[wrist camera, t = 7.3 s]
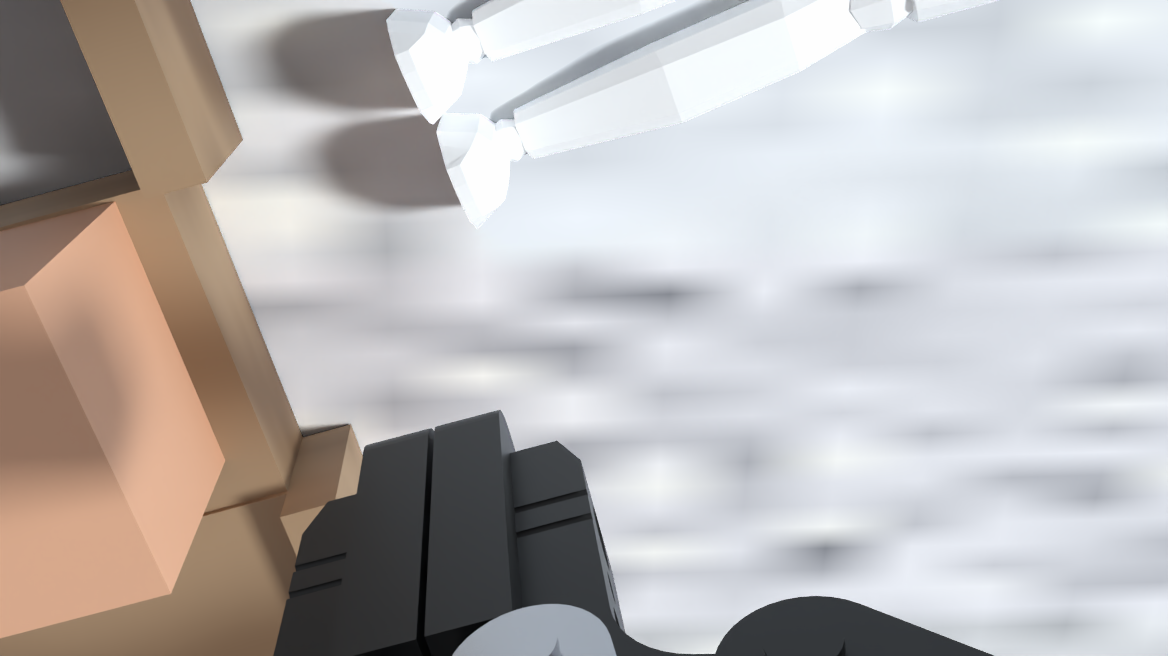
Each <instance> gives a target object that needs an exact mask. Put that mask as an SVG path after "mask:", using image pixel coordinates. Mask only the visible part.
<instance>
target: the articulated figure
mask: <svg viewBox="0 0 1168 656" xmlns="http://www.w3.org/2000/svg"><path fill="white" fill-rule="evenodd" d="M674 1H677V0H489V1H488V2H486V3H484V4H482V5H481V6H479V7H477V8H475V9H474V10H472V18H473V19H458V18H457V19H456V21H455V22H454V23H453V24H452V23H451V21H449V20H448V19H446V18H444V17H443V16H441V15H440V14H438V13H437V12H435V11H425V10H412V9H398V8H396V9H395V11H394V12H393V13H392V14H391V15H390V16H389V17H388V19H387V20H386V22H387V27H388V32H389V36H390V40H391V44H392V48H393V51H394V55H395V58H396V60H397V63H398V65H399V67H400V70H401V72H402V75H403V77H404V79H405V81H406V84H407V86H408V88H409V90H410V92H411V95H412V97H413V99H414V101H415V103H416V105H417V107H418V109H419V111H420V112H421V113H422V115H423V116H424V117H425V118H426V119H427V121H428V122H429V123H430V124H434V123H435V122H436V121H437V120H438V119H439V118H440V117H441V119H440V122H439V125H438V128H437V131H436V133H437V137H438V141H439V145H440V149H441V152H442V156H443V160H444V163H445V167H446V170H447V173H448V175H449V178H450V180H451V182H452V185H453V187H454V190H455V192H456V194H457V196H458V198H459V201H460V203H461V205H462V207H463V209H464V211H465V213H466V215H467V217H468V219H469V221H470V222H471V223H472V224H473V225H474V226H475V227H476V228H477V229H478V228H480V226H481V225H482V224H483V223H484V222H485V221H486V220H487V219H488V218H489V217H490V216H491V215H492V213H493V212H494V211H495V210H496V209H497V208H498V207H499V206H500V205H501V204H502V202H503V201H504V200H505V198H506V193H507V189H508V184H509V172H510V161H519V160H520V159H521V158H522V157H523V156H524V155H525V154H526V153H528V154H529V155H530V156H531V157H532V158H533V159H535V158H539V157H543V156H547V155H552V154H556V153H560V152H564V151H568V150H572V149H577V148H581V147H585V146H589V145H593V144H597V143H602V142H606V141H610V140H614V139H618V138H622V137H627V136H631V135H635V134H639V133H643V132H647V131H652V130H656V129H660V128H664V127H668V126H672V125H676V124H681V123H684V122H686V121H688V120H691V119H693V118H695V117H698V116H700V115H702V114H704V113H707V112H709V111H711V110H714V109H716V108H718V107H720V106H723V105H725V104H727V103H730V102H732V101H734V100H736V99H739V98H741V97H743V96H746V95H748V94H750V93H752V92H755V91H757V90H759V89H762V88H764V87H766V86H768V85H771V84H773V83H775V82H778V81H780V80H782V79H784V78H787V77H789V76H791V75H794V74H796V73H798V72H800V71H802V70H804V69H805V68H807V67H809V66H810V65H812V64H814V63H815V62H817V61H819V60H820V59H822V58H824V57H825V56H827V55H829V54H830V53H832V52H834V51H835V50H837V49H839V48H840V47H842V46H844V45H845V44H847V43H849V42H850V41H852V40H854V39H855V38H857V37H859V36H860V35H862V34H863V33H865V32H870V31H880V30H890V29H891V28H892V27H894V26H895V25H896V24H898V23H899V22H900V21H902V20H903V19H905V18H906V17H908V18H909V19H911V20H913V21H916V22H922V21H926V20H929V19H933V18H937V17H940V16H944V15H948V14H951V13H955V12H959V11H963V10H966V9H970V8H974V7H977V6H981V5H985V4H988V3H992V2H996V1H999V0H749V1H747V2H744V3H742V4H740V5H737V6H735V7H733V8H731V9H728V10H726V11H724V12H721V13H719V14H717V15H714V16H712V17H710V18H707V19H705V20H703V21H701V22H698V23H696V24H694V25H691V26H689V27H687V28H684V29H682V30H680V31H678V32H675V33H673V34H671V35H668V36H666V37H664V38H661V39H659V40H657V41H655V42H652V43H650V44H648V45H646V46H644V47H642V48H640V49H638V50H636V51H634V52H632V53H629V54H627V55H625V56H623V57H621V58H619V59H617V60H615V61H613V62H611V63H609V64H607V65H605V66H603V67H600V68H598V69H596V70H594V71H592V72H590V73H588V74H586V75H584V76H582V77H580V78H578V79H576V80H574V81H572V82H569V83H567V84H565V85H563V86H561V87H559V88H557V89H555V90H553V91H551V92H549V93H547V94H545V95H543V96H541V97H539V98H536V99H534V100H532V101H530V102H528V103H526V104H524V105H522V106H520V107H518V108H516V109H514V119H500V120H499V121H498V122H497V123H496V124H495V123H494V122H492V121H491V120H489V119H488V118H486V117H485V116H483V115H482V114H469V113H445V112H446V110H447V109H448V108H449V107H450V106H451V105H452V104H453V103H454V102H455V101H456V100H457V99H458V98H459V97H460V96H461V94H462V90H463V86H464V82H465V78H466V73H467V68H468V64H477V63H478V62H479V61H480V60H481V59H482V58H483V57H484V56H485V55H487V56H488V58H489V59H490V60H491V61H492V62H493V61H496V60H499V59H502V58H505V57H508V56H512V55H515V54H518V53H521V52H524V51H527V50H530V49H534V48H537V47H540V46H543V45H546V44H549V43H552V42H556V41H559V40H562V39H565V38H568V37H571V36H575V35H578V34H581V33H584V32H587V31H590V30H593V29H597V28H600V27H603V26H606V25H609V24H612V23H615V22H619V21H622V20H625V19H628V18H631V17H634V16H638V15H641V14H643V13H646V12H649V11H651V10H654V9H656V8H659V7H661V6H664V5H667V4H669V3H672V2H674Z"/></svg>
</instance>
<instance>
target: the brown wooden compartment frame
mask: <svg viewBox="0 0 1168 656" xmlns="http://www.w3.org/2000/svg"><path fill="white" fill-rule="evenodd" d="M60 1H61V4H62V6H63V8H64V11H65V13H66V15H67V18H68V20H69V23H70V25H71V27H72V30H73V32H74V34H75V37H76V39H77V41H78V44H79V46H80V48H81V51H82V53H83V55H84V58H85V60H86V62H87V65H88V67H89V70H90V72H91V74H92V77H93V79H94V81H95V84H96V86H97V88H98V91H99V93H100V95H101V98H102V100H103V102H104V105H105V107H106V110H107V112H108V114H109V117H110V119H111V121H112V124H113V126H114V128H115V131H116V133H117V135H118V138H119V140H120V142H121V145H122V147H123V149H124V152H125V154H126V157H127V159H128V161H129V164H130V166H131V168H132V170H130V171H126V172H122V173H119V174H115V175H111V176H108V177H104V178H100V179H96V180H93V181H89V182H85V183H82V184H78V185H74V186H71V187H67V188H63V189H59V190H56V191H52V192H48V193H45V194H41V195H37V196H34V197H30V198H26V199H22V200H19V201H15V202H11V203H8V204H4V205H0V231H2V230H6V229H10V228H14V227H18V226H22V225H25V224H29V223H33V222H37V221H41V220H45V219H49V218H52V217H56V216H60V215H64V214H68V213H72V212H75V211H79V210H83V209H87V208H91V207H95V206H99V205H102V204H106V203H110V202H114V201H115V203H116V205H117V207H118V210H119V212H120V214H121V217H122V219H123V221H124V224H125V226H126V228H127V231H128V233H129V235H130V238H131V240H132V242H133V245H134V247H135V250H136V252H137V254H138V257H139V259H140V261H141V264H142V266H143V268H144V271H145V273H146V275H147V278H148V280H149V282H150V285H151V287H152V289H153V292H154V294H155V296H156V299H157V301H158V304H159V306H160V308H161V311H162V313H163V315H164V318H165V320H166V322H167V325H168V327H169V329H170V332H171V334H172V336H173V339H174V341H175V343H176V346H177V348H178V350H179V353H180V355H181V357H182V360H183V362H184V365H185V367H186V369H187V372H188V374H189V376H190V379H191V381H192V383H193V386H194V388H195V390H196V393H197V395H198V397H199V400H200V402H201V404H202V407H203V409H204V411H205V414H206V416H207V419H208V421H209V423H210V426H211V428H212V430H213V433H214V435H215V437H216V440H217V442H218V444H219V447H220V449H221V451H222V454H223V456H224V458H225V463H224V465H223V468H222V470H221V472H220V475H219V477H218V480H217V482H216V485H215V487H214V490H213V492H212V494H211V497H210V499H209V502H208V504H207V507H206V509H205V512H204V514H203V517H202V519H201V521H200V524H199V526H198V529H197V531H196V534H195V536H194V539H193V541H192V543H191V546H190V548H189V551H188V553H187V556H186V558H185V561H184V563H183V566H182V568H181V570H180V573H179V575H178V578H177V580H176V583H175V585H174V588H173V590H172V592H171V594H168V595H164V596H160V597H157V598H153V599H149V600H145V601H141V602H138V603H134V604H130V605H126V606H122V607H118V608H115V609H111V610H107V611H103V612H99V613H95V614H92V615H88V616H84V617H80V618H76V619H73V620H69V621H65V622H61V623H57V624H53V625H50V626H46V627H42V628H38V629H34V630H30V631H27V632H23V633H19V634H15V635H11V636H7V637H4V638H0V656H273V655H274V651H275V646H276V642H277V638H278V634H279V630H280V625H281V621H282V617H283V613H284V609H285V604H286V600H287V599H290V597H289V593H288V592H289V588H290V583H291V579H292V575H293V572H296V569H295V563H296V558H297V554H298V550H299V546H300V542H301V537H302V534H303V533H304V531H305V530H306V529H307V527H308V526H309V525H310V524H311V522H312V521H313V520H314V518H315V517H316V516H317V515H318V513H319V512H320V511H321V510H322V508H323V507H324V506H325V504H326V503H327V502H328V501H332V500H336V499H339V498H343V497H347V496H351V495H355V494H356V493H357V487H358V482H359V476H360V470H361V464H362V458H363V455H362V453H361V450H360V447H359V445H358V442H357V440H356V437H355V434H354V432H353V429H352V426H351V424H350V425H347V426H343V427H339V428H335V429H332V430H328V431H324V432H321V433H317V434H313V435H310V436H306V437H303V436H302V434H301V431H300V429H299V426H298V424H297V421H296V419H295V417H294V414H293V412H292V409H291V407H290V404H289V402H288V399H287V397H286V394H285V392H284V389H283V387H282V384H281V382H280V379H279V377H278V374H277V372H276V369H275V367H274V364H273V362H272V359H271V357H270V354H269V352H268V349H267V347H266V344H265V342H264V339H263V337H262V334H261V332H260V329H259V327H258V324H257V322H256V319H255V317H254V314H253V312H252V309H251V307H250V304H249V302H248V299H247V297H246V294H245V292H244V289H243V287H242V284H241V282H240V279H239V277H238V274H237V272H236V270H235V267H234V265H233V262H232V260H231V257H230V255H229V252H228V250H227V247H226V245H225V242H224V240H223V237H222V235H221V232H220V230H219V227H218V225H217V222H216V220H215V217H214V215H213V212H212V210H211V207H210V205H209V202H208V200H207V197H206V195H205V192H204V190H203V187H202V185H201V184H203V183H207V182H208V181H209V180H210V178H211V177H212V176H213V175H214V174H215V172H216V171H217V170H218V169H219V168H220V166H221V165H222V164H223V163H224V162H225V161H226V159H227V158H228V157H229V156H230V155H231V153H232V152H233V151H234V150H235V149H236V148H237V146H238V145H239V144H240V143H241V142H242V140H243V139H242V136H241V134H240V131H239V128H238V126H237V123H236V120H235V118H234V115H233V112H232V110H231V107H230V105H229V102H228V99H227V97H226V94H225V91H224V89H223V86H222V83H221V81H220V78H219V76H218V73H217V70H216V68H215V65H214V62H213V60H212V57H211V54H210V52H209V49H208V47H207V44H206V41H205V39H204V36H203V33H202V31H201V28H200V25H199V23H198V20H197V18H196V15H195V12H194V10H193V7H192V4H191V2H190V0H60Z"/></svg>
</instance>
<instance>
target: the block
mask: <svg viewBox="0 0 1168 656" xmlns="http://www.w3.org/2000/svg"><path fill="white" fill-rule="evenodd" d="M224 463H225V458H224V456H223V454H222V451H221V449H220V447H219V444H218V442H217V440H216V437H215V435H214V433H213V430H212V428H211V426H210V423H209V421H208V419H207V416H206V414H205V411H204V409H203V407H202V404H201V402H200V400H199V397H198V395H197V393H196V390H195V388H194V386H193V383H192V381H191V379H190V376H189V374H188V372H187V369H186V367H185V365H184V362H183V360H182V357H181V355H180V353H179V350H178V348H177V346H176V343H175V341H174V339H173V336H172V334H171V332H170V329H169V327H168V325H167V322H166V320H165V318H164V315H163V313H162V311H161V308H160V306H159V304H158V301H157V299H156V296H155V294H154V292H153V289H152V287H151V285H150V282H149V280H148V278H147V275H146V273H145V271H144V268H143V266H142V264H141V261H140V259H139V257H138V254H137V252H136V250H135V247H134V245H133V242H132V240H131V238H130V235H129V233H128V231H127V228H126V226H125V224H124V221H123V219H122V217H121V214H120V212H119V210H118V207H117V205H116V203H115V201H114V202H110V203H106V204H102V205H99V206H95V207H91V208H87V209H83V210H79V211H75V212H72V213H68V214H64V215H60V216H56V217H52V218H49V219H45V220H41V221H37V222H33V223H29V224H25V225H22V226H18V227H14V228H10V229H6V230H2V231H0V638H4V637H7V636H11V635H15V634H19V633H23V632H27V631H30V630H34V629H38V628H42V627H46V626H50V625H53V624H57V623H61V622H65V621H69V620H73V619H76V618H80V617H84V616H88V615H92V614H95V613H99V612H103V611H107V610H111V609H115V608H118V607H122V606H126V605H130V604H134V603H138V602H141V601H145V600H149V599H153V598H157V597H160V596H164V595H168V594H171V592H172V590H173V588H174V585H175V583H176V580H177V578H178V575H179V573H180V570H181V568H182V566H183V563H184V561H185V558H186V556H187V553H188V551H189V548H190V546H191V543H192V541H193V539H194V536H195V534H196V531H197V529H198V526H199V524H200V521H201V519H202V517H203V514H204V512H205V509H206V507H207V504H208V502H209V499H210V497H211V494H212V492H213V490H214V487H215V485H216V482H217V480H218V477H219V475H220V472H221V470H222V468H223V465H224Z"/></svg>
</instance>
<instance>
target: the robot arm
mask: <svg viewBox="0 0 1168 656" xmlns="http://www.w3.org/2000/svg"><path fill="white" fill-rule="evenodd" d="M295 569H296V572H293V575H292V579H291V583H290V588H289V592H288V593H289V597H290V599H287V600H286V604H285V609H284V613H283V617H282V621H281V625H280V630H279V634H278V638H277V642H276V646H275V651H274V655H273V656H993V655H991V654H988V653H986V652H983V651H980V650H978V649H975V648H973V647H970V646H967V645H965V644H962V643H960V642H957V641H955V640H952V639H949V638H947V637H944V636H942V635H939V634H936V633H934V632H931V631H929V630H926V629H923V628H921V627H918V626H916V625H913V624H911V623H908V622H905V621H903V620H900V619H898V618H895V617H892V616H890V615H887V614H885V613H882V612H879V611H877V610H874V609H872V608H869V607H867V606H864V605H861V604H859V603H855V602H852V601H849V600H846V599H840V598H834V597H822V596H809V597H798V598H792V599H786V600H782V601H779V602H776V603H772V604H769V605H767V606H765V607H762V608H760V609H758V610H756V611H754V612H752V613H751V614H749V615H747V616H746V617H744V618H743V619H742V620H740V621H739V622H738V623H737V624H736V625H734V626H733V627H732V628H731V629H730V631H729V632H728V633H727V634H726V635H725V636H724V638H723V639H722V641H721V643H720V644H719V646H718V648H717V651H716V654H676V653H670V652H664V651H660V650H657V649H653V648H650V647H647V646H645V645H643V644H641V643H639V642H637V641H635V640H634V639H632V638H631V637H629V636H628V635H627V634H626V633H625V630H624V625H623V620H622V616H621V611H620V607H619V602H618V597H617V592H616V587H615V583H614V578H613V573H612V570H611V566H610V563H609V559H608V556H607V552H606V548H605V545H604V541H603V538H602V534H601V531H600V527H599V523H598V520H597V516H596V513H595V509H594V506H593V502H592V499H591V495H590V491H589V488H588V484H587V481H586V477H585V474H584V470H583V467H582V463H581V460H580V459H578V458H577V457H576V456H575V455H574V454H572V453H571V452H570V451H569V450H568V449H566V448H565V447H564V446H563V445H561V444H560V443H559V442H558V441H555V442H551V443H547V444H543V445H540V446H536V447H532V448H528V449H524V450H521V451H517V452H515V448H514V445H513V442H512V439H511V435H510V432H509V429H508V426H507V423H506V420H505V418H504V416H503V413H502V412H501V410H497V411H494V412H490V413H486V414H482V415H479V416H475V417H471V418H467V419H463V420H460V421H456V422H452V423H448V424H444V425H441V426H437V427H435V431H434V430H433V429H431V428H430V429H426V430H422V431H419V432H415V433H411V434H407V435H403V436H400V437H396V438H392V439H388V440H385V441H381V442H377V443H373V444H369V445H366V446H365V448H364V452H363V458H362V464H361V470H360V476H359V482H358V487H357V493H356V494H355V495H351V496H347V497H343V498H339V499H336V500H332V501H328V502H327V503H326V504H325V506H324V507H323V508H322V510H321V511H320V512H319V513H318V515H317V516H316V517H315V518H314V520H313V521H312V522H311V524H310V525H309V526H308V527H307V529H306V530H305V531H304V533H303V534H302V537H301V542H300V546H299V550H298V554H297V558H296V563H295Z"/></svg>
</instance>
